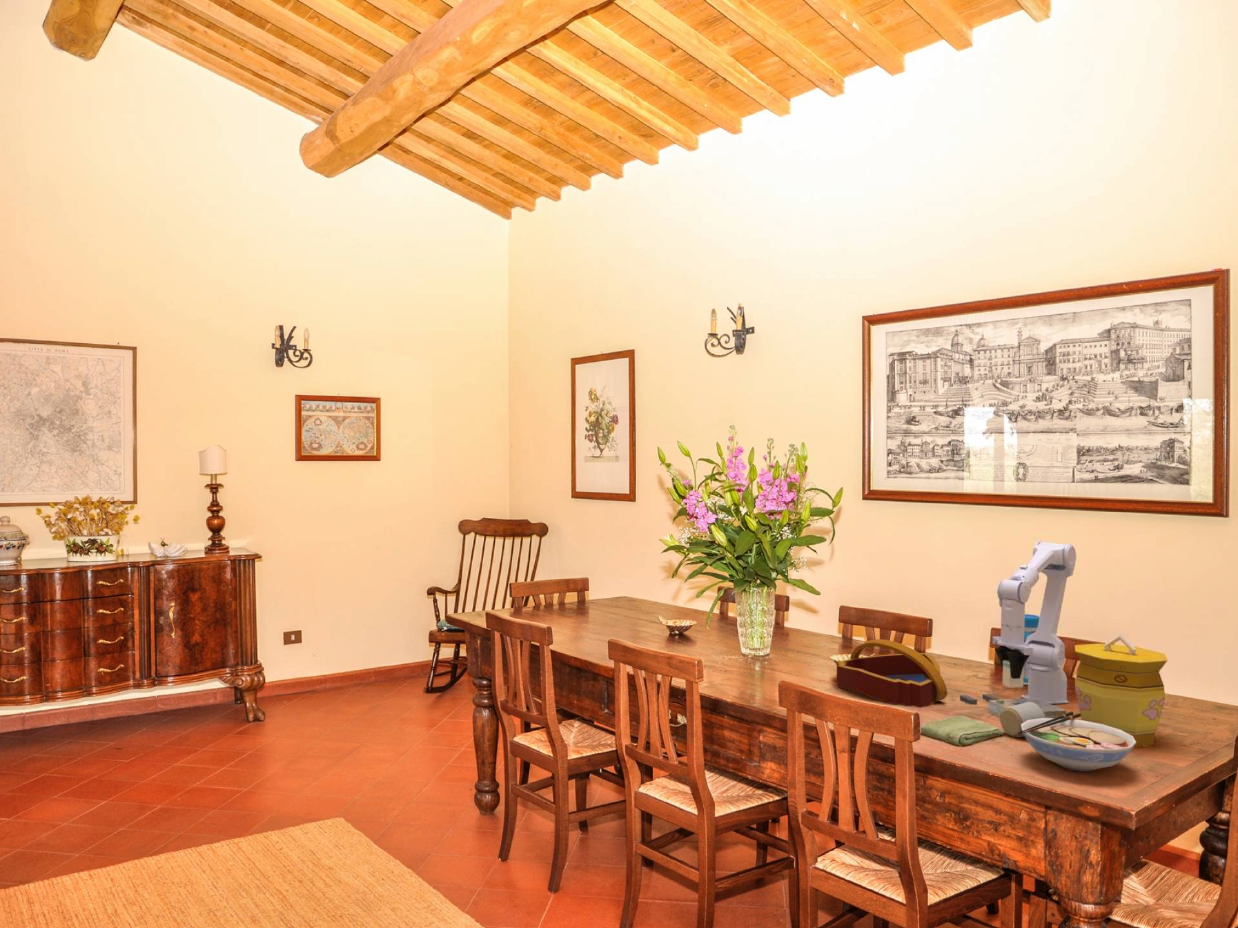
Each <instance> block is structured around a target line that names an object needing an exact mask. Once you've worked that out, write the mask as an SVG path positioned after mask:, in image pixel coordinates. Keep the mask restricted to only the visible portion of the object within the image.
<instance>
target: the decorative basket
mask: <svg viewBox="0 0 1238 928" xmlns="http://www.w3.org/2000/svg"><path fill="white" fill-rule="evenodd" d="M871 647H873V648H875V647H876V648H877V647H878V648H882V649H885V650H886V649H887V650H890V651H893V652H895V653H894V654H883V655H882V654H881V655H871V656H862V657H861V656H860V655H861V653H862V652H863V650H864V649H865V648H871ZM836 683H837V687H838V688H841V689H844V690H845V689H846V690H849V691H853V692H858V693H861V694H863V695H866V696H868V697H871V698H874V699H877V700H881V701H884V702H886V703H889V704H893V703H894V704H893V705H900V704H901V705H903V706H907V707H910V706H913V705H914V706H913V707H917V708H925V707H927V706H929V705H931V704H933V703H937V702H940V701H943V700H945V699H946V698H947V695H948V689H947V685H946V683H945V681H944V679H943V676H942V675H941V668H940V664H939V663H938V662H937V660H936V659H935V658H934V657H933V656H932V655H931V654H929V653H928V652H918V651H917V650H915V649H913V648H911V647H909V646H907V645H905V644H903V643H900V642H896V641H893V640H888V639H884V638H883V639H880V638H879V639H878V638H877V639H870V640H867V641H864V642H863V643H861V644H860V645H858V646H856V647H855V648H854V649H853V650H852V652H851V655H850V657H849V659H843V660H839V661H836Z"/></svg>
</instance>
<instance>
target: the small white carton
mask: <svg viewBox="0 0 1238 928" xmlns="http://www.w3.org/2000/svg"><path fill="white" fill-rule="evenodd" d="M1023 668H1024V667H1023ZM1002 685H1003V686H1004V687H1007V688H1023V687H1024V684H1023V669H1022V673H1021V676H1020V679H1013V678H1011V672H1010V662H1009V660H1003V671H1002Z"/></svg>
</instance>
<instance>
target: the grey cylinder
mask: <svg viewBox="0 0 1238 928" xmlns="http://www.w3.org/2000/svg"><path fill="white" fill-rule="evenodd" d="M1039 718H1045V715H1044V712H1043V711H1042V709H1041V708H1040V707H1039V706H1038V705H1037V704H1035V703H1033V702H1026V703H1022V704H1018V705H1014V706H1010V707H1008V708H1006V709H1004V710H1003V711H1002V713H1001V715H1000V717H999V721H1000V725H1001V728H1002V730H1003V732H1004V733H1006V734H1007V735H1009V736H1010V737H1013V738H1022V737H1025V735H1024V733H1023V732H1022V733H1023V734H1020V733H1019V732H1021V731H1022V727H1021V724H1022V723H1024V722H1025V721H1027V720H1032V719H1039ZM1017 733H1019V734H1017Z"/></svg>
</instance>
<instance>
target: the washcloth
mask: <svg viewBox="0 0 1238 928" xmlns="http://www.w3.org/2000/svg"><path fill="white" fill-rule="evenodd" d="M920 727H921V733H920V734H921V735H924V736H927V737H931V738H933V739H937V740H941V741H944V742H946V743H949V744H951V745H954V746H956V747H963V746H968V745H974V744H978V743H981V742H983V741H987V740H989V739H993V738H997V737H1000V736H1001V735H1004V733H1005V731H1004V730H1003V729H1000V728H999V727H997V726H994V725H991V724H989V723H986V722H984V721H981V720H975V719H971V718H969V717H968V716H965V715H959V716H957V715H952V716H949V717H945V718H941V719H938V720H931V721H929V722H927V721H926V722H923V724H921V725H920Z"/></svg>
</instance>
